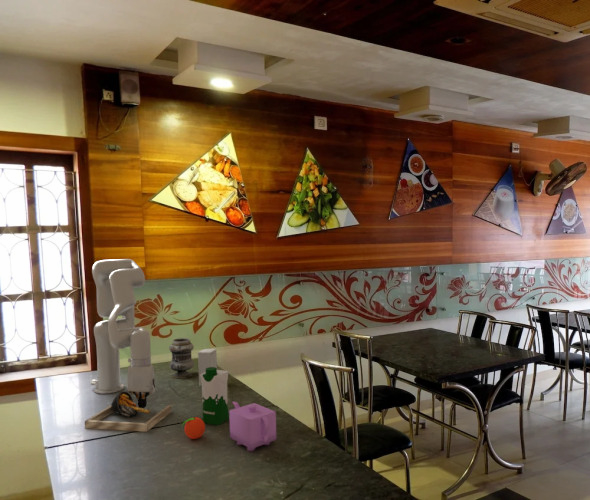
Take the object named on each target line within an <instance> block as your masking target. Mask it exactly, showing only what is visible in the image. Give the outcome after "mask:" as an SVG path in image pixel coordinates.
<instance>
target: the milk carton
mask: <svg viewBox="0 0 590 500" xmlns="http://www.w3.org/2000/svg"><path fill="white" fill-rule="evenodd" d="M200 378H201V383H202V386H201V397H202V399H201V400H202V401H201V402H202V420H203V422H204V424H209V425H213V426H220V425H221V424H223V423H224V422H226V421H227V420H230V417H229V406H228V405H229V404H228V403H229V402H228V400H229V399H228V380H229V370H224V369H222V370H221V369H218V367H217V368H215V367H209V368H206V372H204V373H202V374H200Z"/></svg>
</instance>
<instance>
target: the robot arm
mask: <svg viewBox="0 0 590 500" xmlns="http://www.w3.org/2000/svg"><path fill="white" fill-rule="evenodd" d="M91 273H92V279H93V281H94V284H95V286H96V310H97V311H96V312H97V314H98V316H99V317H100V318H105V320H101V321H98V322H97V323H96V324H95V325H94V326H93V336H94V339H95V345H96V347H95V348H96V361H97V363H96V364H97V366H96V367H97V368H96V369H97V379H92V380H91V382H90V385H91V386H95V388H94V389H93V390H94V392H95V393H96V394H101V395H103V394H104V395H106V394H112V393H117V392H121V391H122V390H123V389H125V385H124V384H123V383H121V365H120V363H121V362H120V349H125V348H130V358H128V360H127V362H128V363H130V365H129V366H128V369H127V379H126V389H127V391H128V393H129V394H133V395H134V396H135V398H136V400H137V407H138V408H144V409H146V408H147V405H148V403H147V401H148V398H147V397H148V396H150V395H153V394H155V393H156V389H155V388H156V377H155V371H154V366H153V364H152V359H151V357H152V355H151V354H152V352H151V334H150V331H149V330H148V329H147V330H146V329H145V328H144V327H142V326H135V305H136V304H137V301H136V297H135V291H134V288H141V287H143V286H144V285H145V281H146V276H145V274H144V271H143V270H142V268H141V267H140V266H139V264H137V263H136V262H135V260H133V259H130V258H121V259H119V258H118V259H102V260H97V261H95V262H94V264H93V265H92V269H91ZM118 317H121V318H118ZM106 318H108V319H107V320H106Z"/></svg>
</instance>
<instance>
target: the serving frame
mask: <svg viewBox="0 0 590 500" xmlns="http://www.w3.org/2000/svg"><path fill="white" fill-rule="evenodd" d="M113 413H115V412H114V411H112V409H111V404H110V405H109V406H107V407H105V408H104V409H101V411H99V412H97V413H95V414H94V415H93V416H91V417H89V418H87V419H86V420H85V421H84V429H96V430H112V431H115V430H116V431H128V432H142V433H143V432H148V431H150V430H151V429H152V428H153V427H155V426H156V425H158V423H160V422H161V421H162V420H163V419H165V418H166V417H167V416H168V415H170V414H171V413H172V405H170V404H169V405H167V406H166V407H164V408H163V409H162V410H160V411H159V412H158V413H156V414H155V415H154V416H153V417H151V418H150V419H149V420H148V421H146V422H145V423H144V422H130V421H115V420H114V421H111V420H109V421H108V420H103V419H105V418H106V417H108V416H109V415H111V414H113Z"/></svg>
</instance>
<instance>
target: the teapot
mask: <svg viewBox="0 0 590 500" xmlns="http://www.w3.org/2000/svg"><path fill="white" fill-rule="evenodd" d="M231 403H232V404H233V406H234V408H233V409H230V410H228V414H229V438H230V439H232V440H233V441H236V444H235V445H238V446H245V447H246V450H247V451H248V452H253V451H255V450H256V448H258V447H261V446H269V445H270V444H271V443H272V442H274V441H276V440H277V411H275V410H272V409H270V408H268V407H266V406H262V405H260V404H258V403H255V402H253V403H249V404H246V405H243V406H240V404H239V402H237V401H231Z"/></svg>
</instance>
